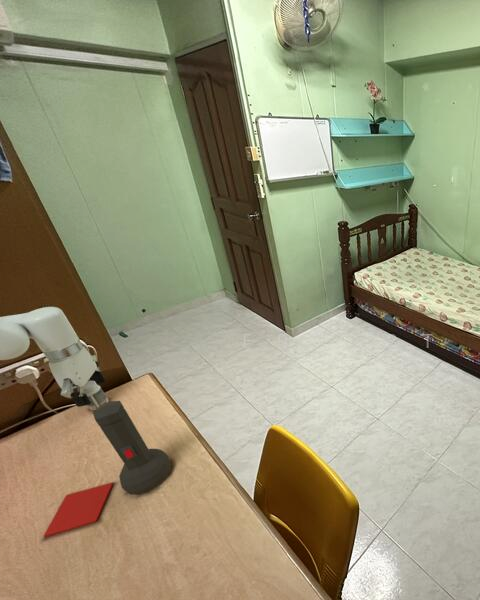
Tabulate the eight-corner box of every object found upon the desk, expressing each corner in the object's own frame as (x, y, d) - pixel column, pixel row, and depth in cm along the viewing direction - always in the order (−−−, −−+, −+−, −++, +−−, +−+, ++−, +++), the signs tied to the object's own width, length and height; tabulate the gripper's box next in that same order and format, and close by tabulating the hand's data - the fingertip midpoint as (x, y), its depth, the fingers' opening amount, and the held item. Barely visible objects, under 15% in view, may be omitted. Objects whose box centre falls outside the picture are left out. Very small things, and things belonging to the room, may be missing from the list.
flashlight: (126, 469, 80) (121, 504, 72) (79, 399, 68) (68, 433, 60) (172, 451, 84) (172, 481, 77) (136, 382, 72) (132, 411, 65)
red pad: (44, 537, 66) (43, 536, 66) (67, 496, 74) (66, 494, 73) (96, 522, 69) (95, 520, 69) (113, 483, 77) (112, 482, 76)
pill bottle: (108, 396, 101) (96, 377, 97) (109, 404, 98) (97, 385, 94) (88, 404, 98) (75, 384, 94) (89, 413, 95) (76, 393, 91)
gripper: (63, 334, 93) (90, 377, 102) (26, 372, 79) (61, 418, 87) (94, 330, 96) (118, 372, 104) (63, 365, 81) (94, 411, 90)
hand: (92, 393), depth 96 cm, fingers open, 9 cm apart
